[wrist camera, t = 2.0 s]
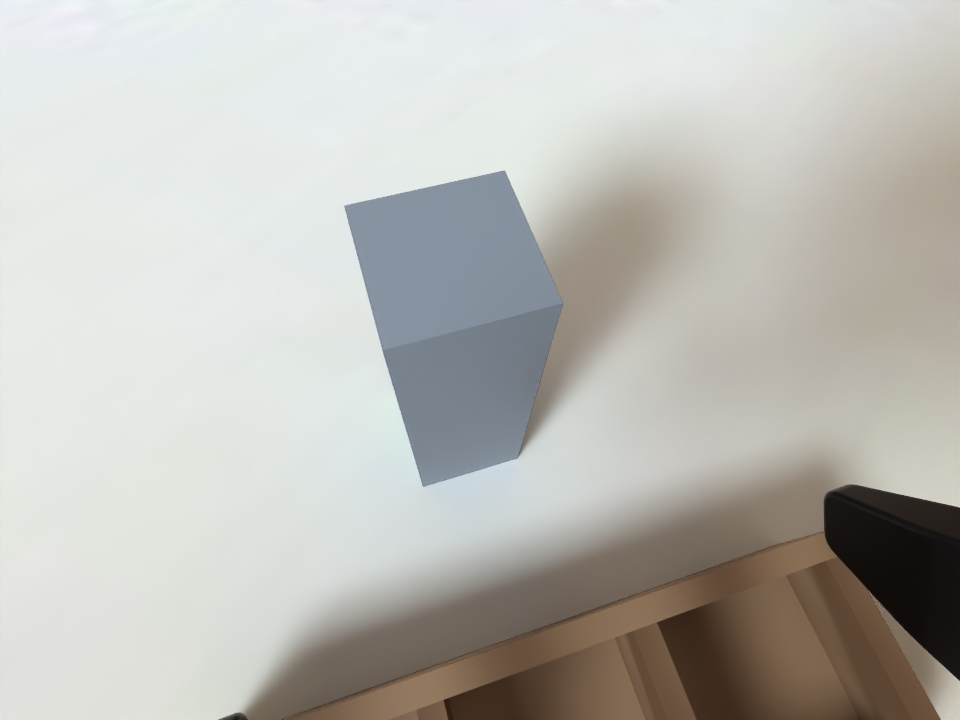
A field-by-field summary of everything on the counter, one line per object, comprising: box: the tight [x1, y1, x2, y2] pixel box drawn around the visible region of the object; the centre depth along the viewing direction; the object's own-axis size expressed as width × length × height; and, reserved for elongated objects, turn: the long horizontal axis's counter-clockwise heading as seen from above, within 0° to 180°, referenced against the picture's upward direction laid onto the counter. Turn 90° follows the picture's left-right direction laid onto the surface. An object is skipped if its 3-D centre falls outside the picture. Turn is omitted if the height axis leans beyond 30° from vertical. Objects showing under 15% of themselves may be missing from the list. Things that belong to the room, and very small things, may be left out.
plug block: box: [344, 171, 563, 487], centre depth 18 cm, size 4×4×12 cm
